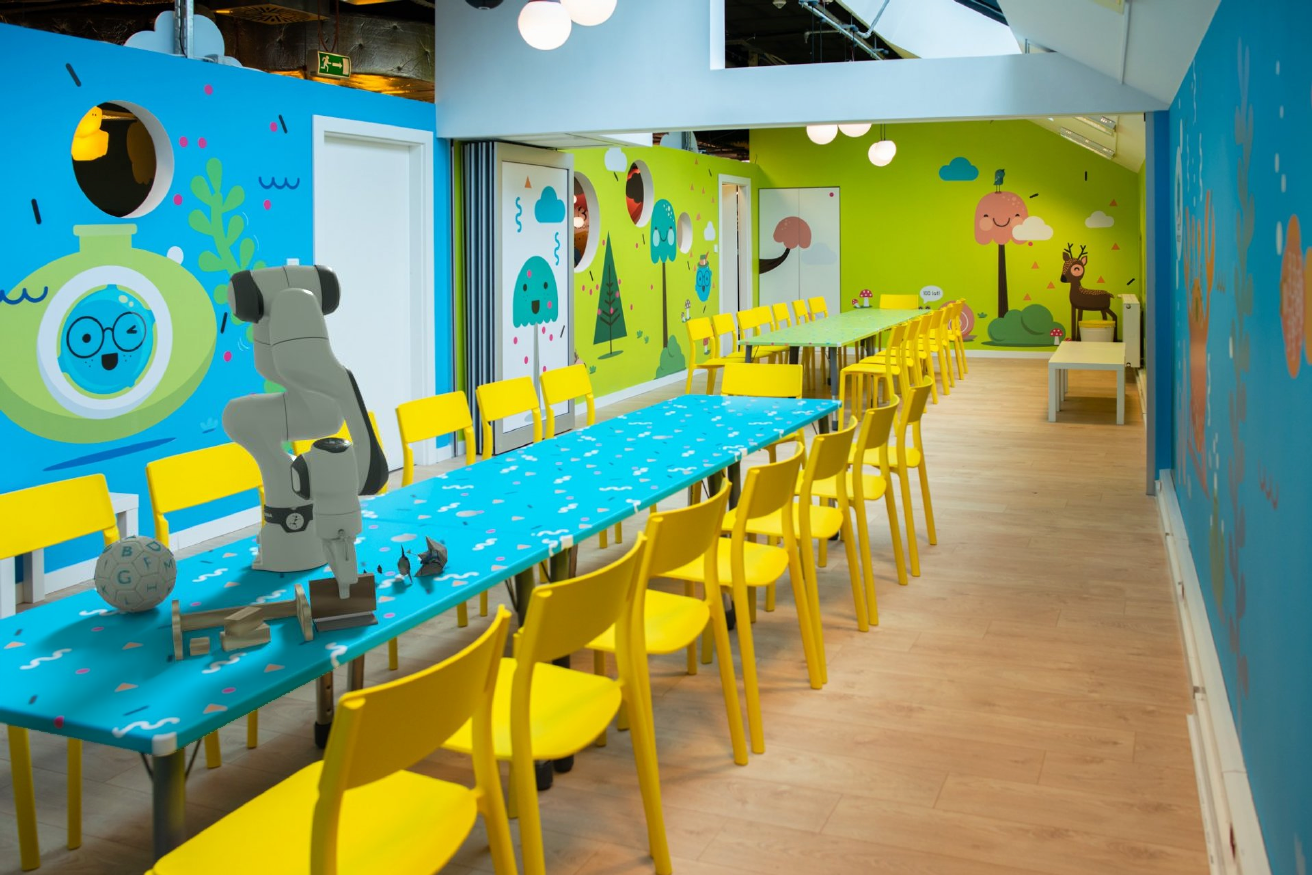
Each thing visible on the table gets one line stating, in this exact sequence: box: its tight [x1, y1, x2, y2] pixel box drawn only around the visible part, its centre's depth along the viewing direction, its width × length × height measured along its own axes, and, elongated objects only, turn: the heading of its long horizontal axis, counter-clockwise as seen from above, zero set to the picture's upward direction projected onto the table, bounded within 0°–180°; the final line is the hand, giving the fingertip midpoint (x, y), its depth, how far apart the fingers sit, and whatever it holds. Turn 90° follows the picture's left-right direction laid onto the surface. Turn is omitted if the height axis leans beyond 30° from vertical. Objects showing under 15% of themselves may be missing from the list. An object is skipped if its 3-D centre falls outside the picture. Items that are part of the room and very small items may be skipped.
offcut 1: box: [189, 636, 211, 656], centre depth 205 cm, size 4×3×2 cm
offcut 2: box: [223, 607, 264, 636], centre depth 207 cm, size 3×7×3 cm, turn 164°
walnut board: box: [308, 571, 378, 620], centre depth 219 cm, size 2×12×7 cm, turn 113°
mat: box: [312, 611, 379, 633], centre depth 220 cm, size 10×11×1 cm
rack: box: [171, 583, 314, 661], centre depth 212 cm, size 17×23×6 cm
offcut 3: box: [219, 622, 272, 652], centre depth 208 cm, size 3×8×3 cm, turn 126°
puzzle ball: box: [93, 534, 178, 613], centre depth 227 cm, size 15×15×15 cm
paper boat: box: [405, 534, 448, 578], centre depth 252 cm, size 12×6×9 cm
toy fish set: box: [362, 544, 444, 584], centre depth 241 cm, size 11×25×9 cm, turn 122°
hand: (342, 594), depth 219 cm, fingers closed on walnut board, 2 cm apart
